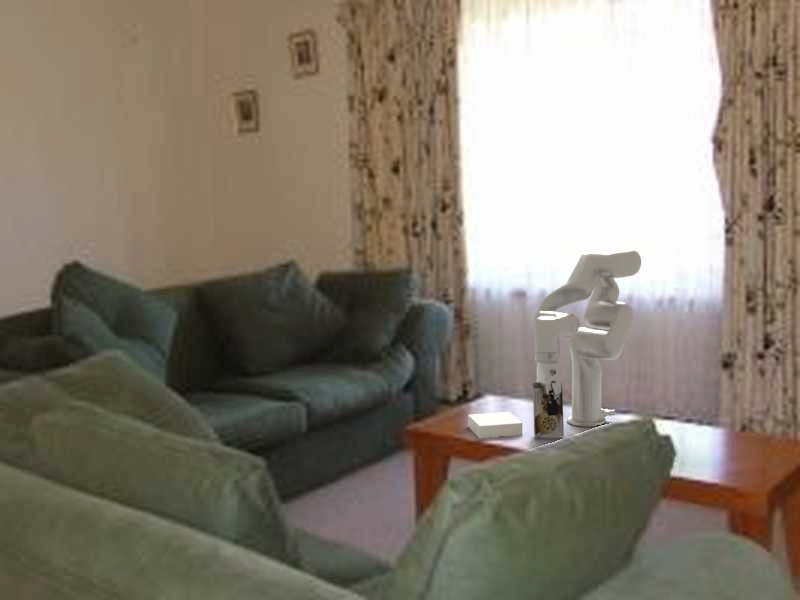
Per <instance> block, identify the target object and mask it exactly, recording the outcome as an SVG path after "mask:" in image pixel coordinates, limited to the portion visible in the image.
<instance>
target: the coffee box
mask: <svg viewBox="0 0 800 600" xmlns="http://www.w3.org/2000/svg"><path fill="white" fill-rule="evenodd" d="M549 393H553V391H552V390H551V391H549ZM552 396H553V395H551V396H550V398H551V397H552ZM532 401H533V402H532V404H533V405H532V407H533V409H532V410H533V428H534V429H533V433H534V438H564V436H565V434H564V403H563V402H564V395H563V385H562V383H561V393H560V394H559V395H558V415H553V416H548V414H547V403H549V402H548V397H547V394H545V392H544V388H543V387H542V386H541V385H540V384H538V383H537V382H532Z"/></svg>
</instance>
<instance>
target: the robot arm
mask: <svg viewBox="0 0 800 600" xmlns="http://www.w3.org/2000/svg"><path fill="white" fill-rule="evenodd" d="M641 266H642V258H641V255H640V254H639V252H638V251H637V250H634V249H627V248H626V249H623V248H606V247H605V248H599V249H596V250H587V251H585V252H583V253H582V255H581V256H580V258H579V259H578V261H577V263H576V265H575V267H574V268H573V271H572V273H571V274H570V276H569V278H568V280H567V282H566V283H565V284H564V285H561V286H560V287H558V288H556V289H555V290H553V291H552V292H551V293H549V294H548V295H547V296H545V298H544V299H543V300H542V301H541V303H540V305H539V307H538V309H537V311H536V313H535V314H534V315H535V316H534V318H533V326H534V361H535V362H536V383H538V384H540V385H541V386H542V387H543V388H544V392H545V394H547V397H548V402H549V403H547V414H548V416H553V415H558V395H559V394H560V393H561V384H562V381H561V380H562V379H561V369H560V363H559V362H560V361H561V360H560V359H561V358H560V356H561V355H560V354H561V353H560V351H561V350H560V339H561V338H568V344H569V350H570V351H569V352H570V355H571V414H570V415H569V416H567V417H566V421H567V423H568V424H570V425H573V426H576V427H587V428H588V427H589V428H590V427H591V428H592V427H594V428H595V427H598V426H597V425H600V424H603V425H605V424H606V423H605V421H606V422H607V419H606V418H607V416H609V417H612V416H614V417H615V416H616V410H615V409H609V408H603V407H602V376H603V375H602V367H601V364H600V362H599V360H598V359H601V360H611V361H613V360H617V359H618V358H619V356H621V354H622V352H623V349H624V347H625V344H626V341H627V339H628V337H629V333H630V330H631V329H632V326H633V320H634V311H633V308H632V307H631V305H630V304H628V303H626V302H625V301H618V299H619V296H620V287H619V285H618V283H617V281H616V280H615V279H620V278H626V277H633V276H635V275H636V274H637V273H638V272H639V271H640V269H641ZM588 298H589V300H588V303H587V306H586V308H585V311H584V315H583V320H584V323H585V325H587V326H588V327H586V326H583V327H580V323H581V322H580V320H579V318H578V317H577V315H575V314H574V313H570V312H561V311H559V310H561V309H562V308H564V307H566V306H569V305H573V304H576V303H577V304H578V303H580V302H583V301H586V300H587V299H588ZM551 390H552V391H553V393H549V391H551ZM551 395H553V396H552V397H551V398H550V396H551ZM604 423H605V424H604ZM600 426H601V425H600Z"/></svg>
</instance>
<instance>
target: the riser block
mask: <svg viewBox="0 0 800 600" xmlns="http://www.w3.org/2000/svg"><path fill="white" fill-rule="evenodd" d="M467 424H468V428H469V429H470V430H471V431H472V432H473V433H474V434H475V436H477V437H478V439H489V437H492V438H499V437H498V436H505V437H515V436H516V435H518V436H523V422H522V421H520V419H519V418H517V417H516V416H515V415H513V414H512V412H510V411H502V412H500V411H499V412H486V413H485V412H484V413H475V414H474V413H473V414H472V413H471V414H467Z"/></svg>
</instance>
